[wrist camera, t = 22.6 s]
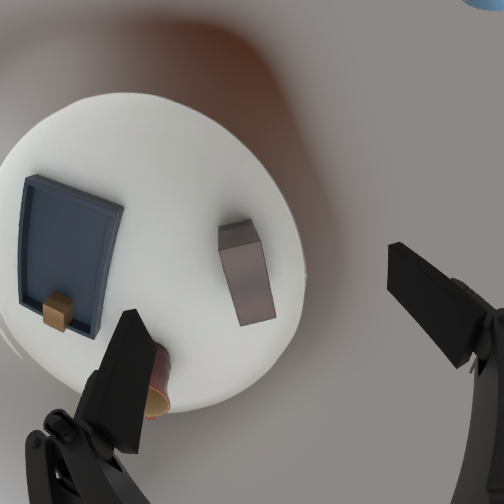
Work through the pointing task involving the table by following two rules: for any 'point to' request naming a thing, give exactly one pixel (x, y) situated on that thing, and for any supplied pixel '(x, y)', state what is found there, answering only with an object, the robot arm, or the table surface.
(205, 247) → the table surface
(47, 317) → the wooden cube
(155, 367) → the mug
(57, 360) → the table surface
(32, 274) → the tray
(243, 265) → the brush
